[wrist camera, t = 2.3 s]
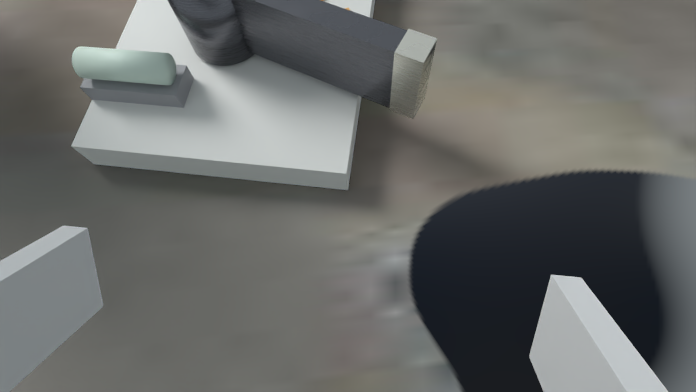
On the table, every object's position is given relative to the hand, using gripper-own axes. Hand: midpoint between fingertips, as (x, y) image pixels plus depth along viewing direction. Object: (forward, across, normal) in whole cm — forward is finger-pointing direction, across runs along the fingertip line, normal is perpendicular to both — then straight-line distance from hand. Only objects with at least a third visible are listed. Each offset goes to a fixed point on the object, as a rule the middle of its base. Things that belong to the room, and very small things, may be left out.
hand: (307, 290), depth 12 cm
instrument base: (+30, -13, +4) cm, 33 cm away
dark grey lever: (+25, -6, +4) cm, 27 cm away
